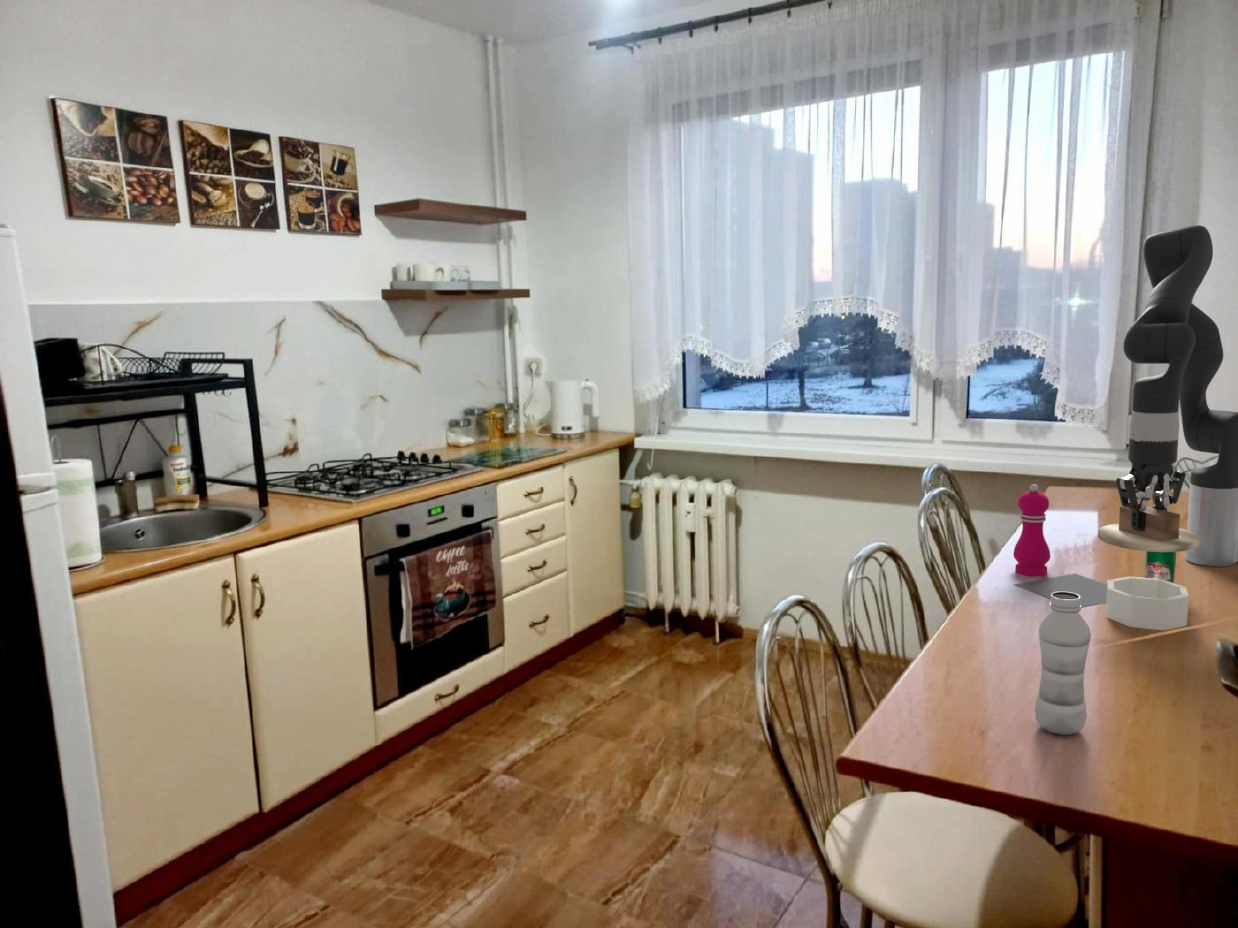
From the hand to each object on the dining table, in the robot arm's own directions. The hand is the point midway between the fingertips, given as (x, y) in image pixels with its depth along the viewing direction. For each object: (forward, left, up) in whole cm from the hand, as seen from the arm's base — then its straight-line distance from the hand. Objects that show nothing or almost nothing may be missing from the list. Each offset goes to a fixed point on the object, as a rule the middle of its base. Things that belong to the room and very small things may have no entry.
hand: (1148, 528), depth 159 cm
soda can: (-12, -8, -17) cm, 23 cm away
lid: (0, 0, -2) cm, 2 cm away
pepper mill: (-1, -29, -17) cm, 34 cm away
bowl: (0, 0, -17) cm, 17 cm away
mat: (0, -16, -17) cm, 24 cm away
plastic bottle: (+45, +27, -17) cm, 55 cm away
